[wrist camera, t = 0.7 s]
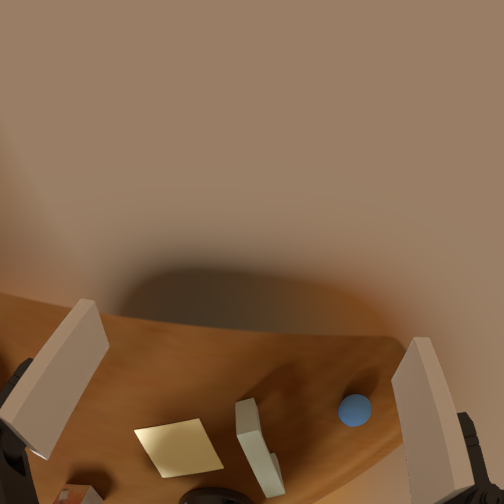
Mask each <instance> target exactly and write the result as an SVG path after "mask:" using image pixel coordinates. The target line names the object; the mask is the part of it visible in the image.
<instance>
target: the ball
mask: <svg viewBox="0 0 504 504" xmlns="http://www.w3.org/2000/svg"><path fill="white" fill-rule="evenodd" d="M371 412H372V406H371V403H370V401H369V400H368V399H367V398H366V397H365V396H363V395H360V394H353V395H349V396H347V397H346V398H345V399H343V401H342V402H341V403H340V405H339V408H338V415H339V418H340V420H341V421H342V422H343V423H344V424H346V425H348V426H359V425H362V424H363V423H365V422H366V421H367V420H368V419H369V417H370V415H371Z"/></svg>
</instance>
